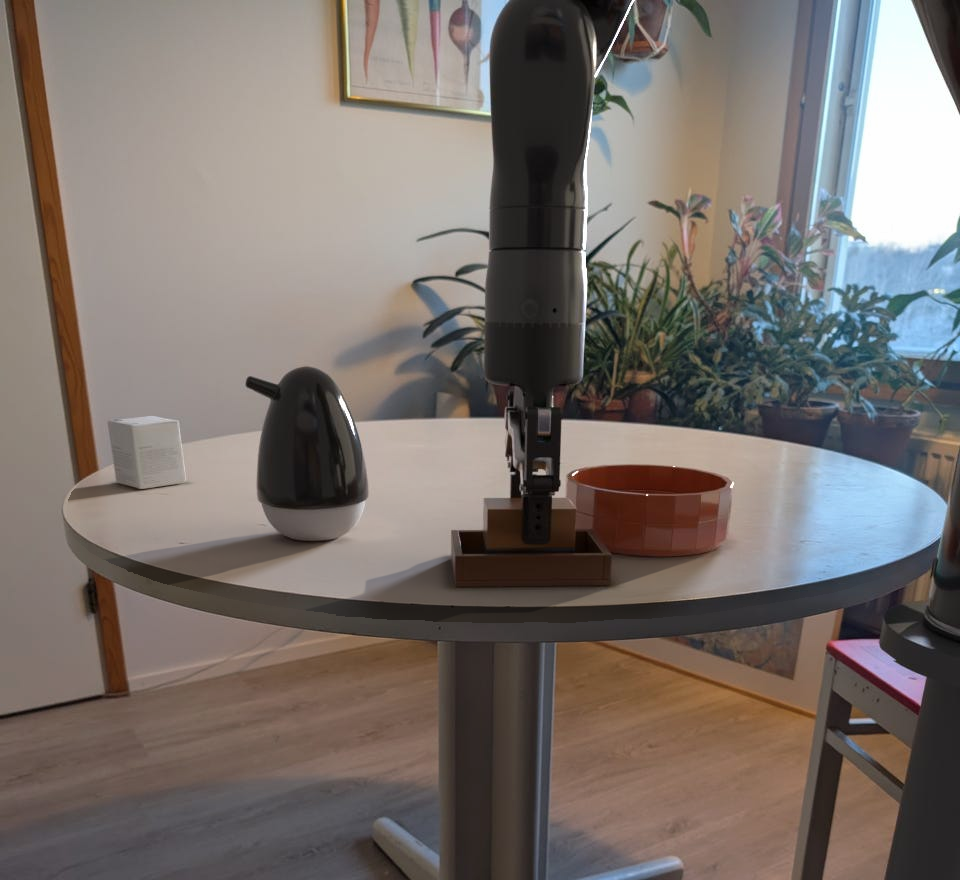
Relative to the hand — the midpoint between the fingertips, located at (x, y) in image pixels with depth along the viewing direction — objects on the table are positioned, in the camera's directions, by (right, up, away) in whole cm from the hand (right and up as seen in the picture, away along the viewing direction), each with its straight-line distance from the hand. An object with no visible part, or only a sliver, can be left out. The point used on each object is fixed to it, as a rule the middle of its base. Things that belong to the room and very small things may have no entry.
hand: (528, 530), depth 72 cm
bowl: (+12, +1, +13) cm, 17 cm away
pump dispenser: (-19, +1, +12) cm, 23 cm away
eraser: (0, -3, +1) cm, 3 cm away
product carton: (-43, +9, +34) cm, 55 cm away
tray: (0, -3, +1) cm, 4 cm away
